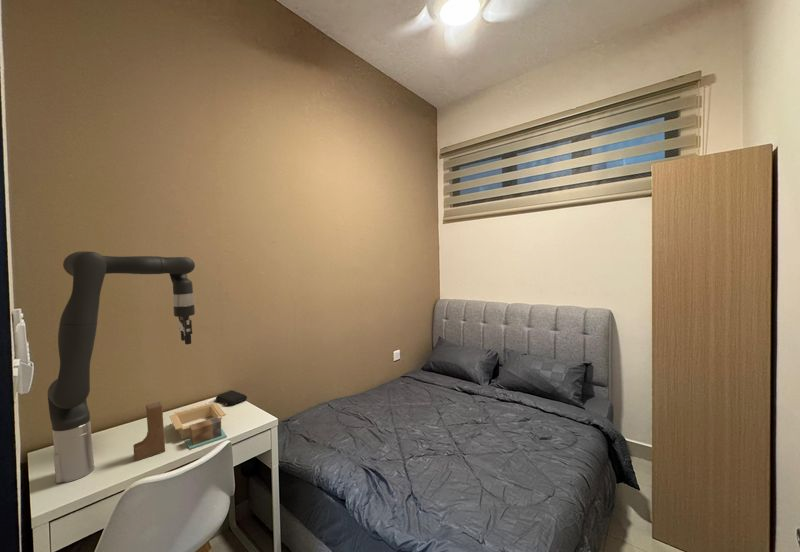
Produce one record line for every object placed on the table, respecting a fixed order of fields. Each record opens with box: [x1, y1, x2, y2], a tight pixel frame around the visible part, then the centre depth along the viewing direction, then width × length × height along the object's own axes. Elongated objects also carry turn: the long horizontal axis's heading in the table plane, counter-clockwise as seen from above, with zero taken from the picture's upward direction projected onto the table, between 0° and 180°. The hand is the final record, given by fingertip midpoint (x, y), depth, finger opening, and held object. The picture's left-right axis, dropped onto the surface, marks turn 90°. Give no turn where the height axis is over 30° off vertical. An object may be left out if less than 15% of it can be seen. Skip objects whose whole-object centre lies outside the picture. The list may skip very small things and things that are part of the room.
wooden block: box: [133, 401, 166, 462], centre depth 127 cm, size 9×4×18 cm, turn 131°
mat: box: [185, 428, 228, 450], centre depth 137 cm, size 13×8×1 cm, turn 131°
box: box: [189, 417, 222, 445], centre depth 137 cm, size 10×5×6 cm, turn 131°
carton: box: [169, 402, 227, 440], centre depth 147 cm, size 18×19×5 cm
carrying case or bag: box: [215, 389, 248, 407], centre depth 173 cm, size 11×3×15 cm
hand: (186, 342), depth 147 cm, fingers open, 8 cm apart
